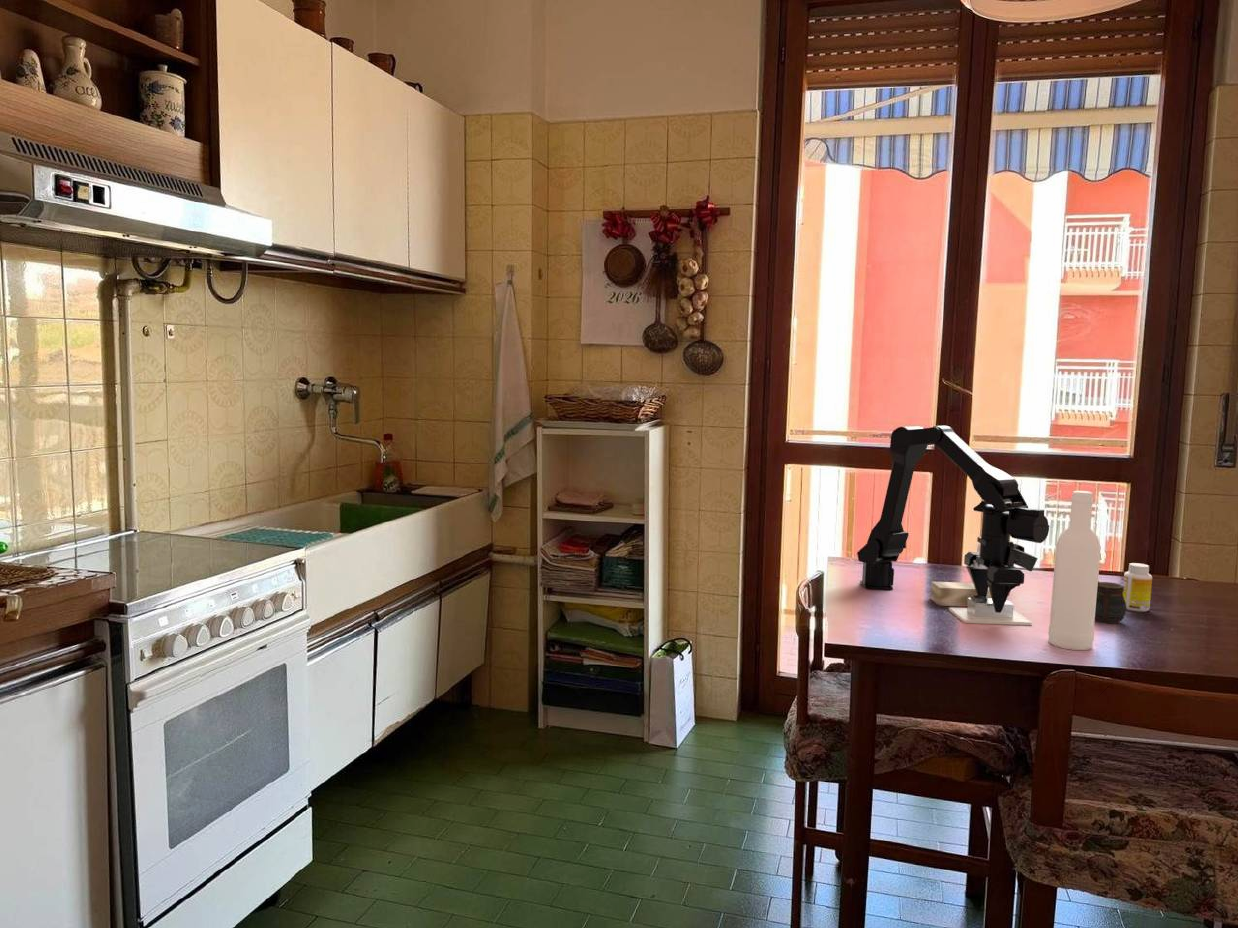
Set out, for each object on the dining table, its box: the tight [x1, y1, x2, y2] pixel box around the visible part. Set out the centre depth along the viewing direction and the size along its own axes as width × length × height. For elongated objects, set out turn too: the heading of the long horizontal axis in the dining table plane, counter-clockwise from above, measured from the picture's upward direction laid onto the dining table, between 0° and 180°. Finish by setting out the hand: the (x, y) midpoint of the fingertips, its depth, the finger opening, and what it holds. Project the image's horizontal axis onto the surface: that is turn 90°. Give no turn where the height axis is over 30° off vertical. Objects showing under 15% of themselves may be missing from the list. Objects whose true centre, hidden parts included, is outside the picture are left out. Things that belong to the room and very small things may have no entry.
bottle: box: [1047, 490, 1102, 651], centre depth 178 cm, size 8×8×30 cm
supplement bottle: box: [1122, 562, 1153, 613], centre depth 208 cm, size 6×6×10 cm
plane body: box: [929, 581, 992, 607], centre depth 209 cm, size 15×6×6 cm, turn 88°
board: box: [948, 607, 1033, 626], centre depth 198 cm, size 14×10×1 cm
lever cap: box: [966, 595, 1015, 618], centre depth 198 cm, size 8×5×4 cm, turn 88°
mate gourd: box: [1095, 580, 1128, 624], centre depth 197 cm, size 7×8×10 cm
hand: (990, 606), depth 198 cm, fingers open, 9 cm apart
